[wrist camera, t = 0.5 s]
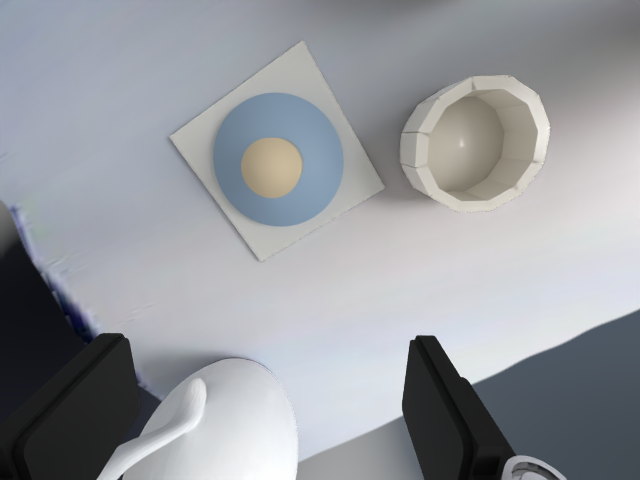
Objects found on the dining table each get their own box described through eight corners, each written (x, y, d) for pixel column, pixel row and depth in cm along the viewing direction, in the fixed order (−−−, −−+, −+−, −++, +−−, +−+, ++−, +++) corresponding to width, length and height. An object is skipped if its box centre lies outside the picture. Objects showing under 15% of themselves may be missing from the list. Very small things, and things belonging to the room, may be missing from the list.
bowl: (482, 62, 30) (520, 45, 24) (523, 163, 33) (566, 169, 27) (380, 127, 31) (393, 126, 26) (427, 217, 34) (449, 233, 29)
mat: (303, 41, 29) (302, 39, 29) (384, 187, 33) (385, 188, 33) (171, 136, 32) (169, 136, 31) (262, 260, 36) (261, 262, 36)
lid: (298, 65, 29) (292, 47, 24) (365, 183, 33) (375, 193, 27) (190, 141, 31) (161, 142, 26) (264, 245, 35) (253, 266, 29)
